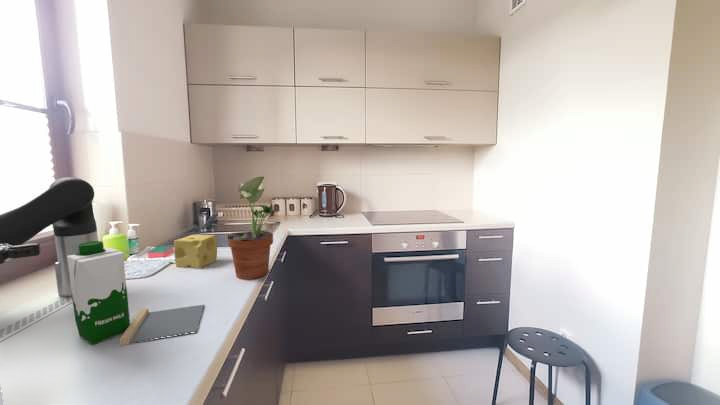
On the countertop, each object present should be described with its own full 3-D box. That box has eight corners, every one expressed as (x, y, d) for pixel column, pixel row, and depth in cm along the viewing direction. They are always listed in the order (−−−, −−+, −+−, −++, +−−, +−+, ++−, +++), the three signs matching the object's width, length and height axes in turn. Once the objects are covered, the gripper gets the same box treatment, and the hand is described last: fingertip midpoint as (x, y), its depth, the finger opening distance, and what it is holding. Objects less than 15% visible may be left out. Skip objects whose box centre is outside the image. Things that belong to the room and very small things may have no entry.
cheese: (199, 269, 112) (197, 241, 111) (173, 267, 114) (171, 240, 113) (218, 260, 122) (216, 234, 121) (194, 258, 124) (192, 233, 123)
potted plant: (286, 271, 109) (282, 168, 105) (249, 285, 97) (243, 169, 92) (256, 263, 118) (252, 168, 113) (219, 275, 105) (211, 169, 101)
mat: (120, 345, 65) (119, 338, 65) (141, 314, 78) (141, 309, 78) (196, 332, 70) (195, 326, 70) (204, 306, 83) (203, 300, 83)
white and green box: (119, 319, 76) (110, 237, 74) (137, 329, 72) (128, 242, 69) (72, 336, 69) (60, 246, 66) (88, 349, 64) (76, 252, 62)
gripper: (-87, 277, 58) (46, 259, 69) (-127, 301, 48) (37, 276, 59) (-94, 236, 57) (42, 225, 68) (-136, 253, 47) (32, 236, 58)
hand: (39, 249), depth 63 cm, fingers closed
